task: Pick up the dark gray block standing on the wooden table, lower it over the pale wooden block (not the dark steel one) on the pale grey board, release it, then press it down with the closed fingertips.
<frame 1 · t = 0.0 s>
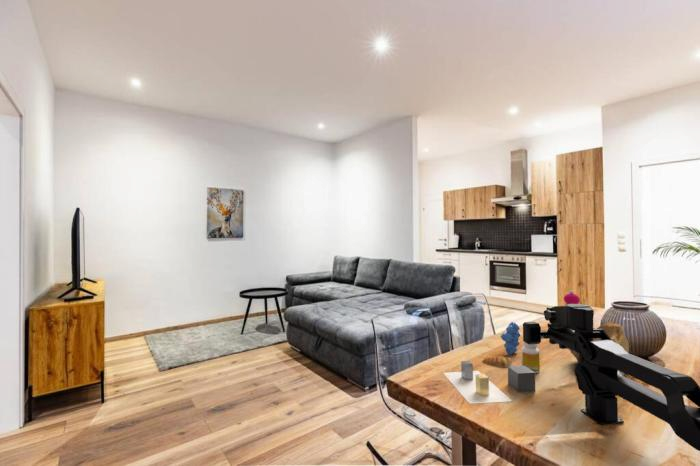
hand: (536, 324, 110), 17 cm above the table, tool horizontal, fingers open, 9 cm apart
board: (474, 389, 101), on the table
pastry: (499, 368, 117), on the table
supplement bottle: (530, 370, 114), on the table
pepper mill: (572, 334, 152), on the table
pale wooden block: (482, 393, 96), resting on board
steel post: (467, 378, 106), resting on board
dark gray block: (521, 391, 99), on the table
rough brown rock: (596, 368, 115), on the table
grapes: (509, 353, 130), on the table
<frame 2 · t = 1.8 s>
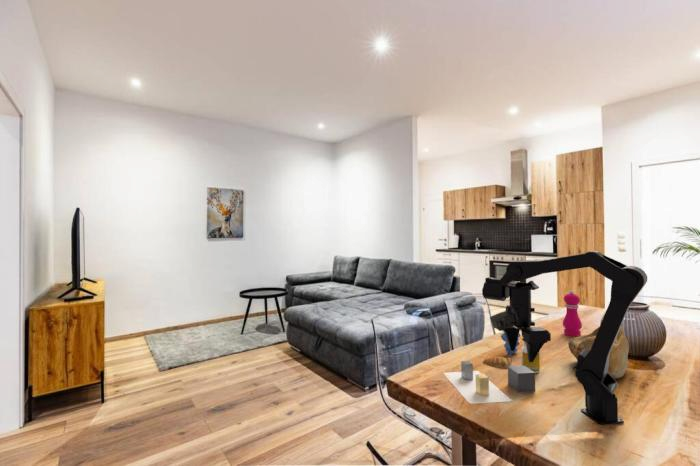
hand: (521, 356, 99), 11 cm above the table, tool pointing down, fingers open, 9 cm apart
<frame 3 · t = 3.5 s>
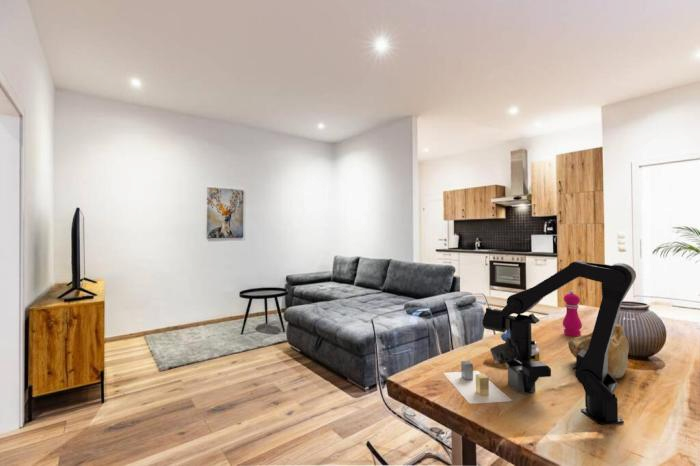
hand: (521, 388, 99), 1 cm above the table, tool pointing down, fingers closed on dark gray block, 5 cm apart
dark gray block: (521, 391, 99), on the table, touching gripper
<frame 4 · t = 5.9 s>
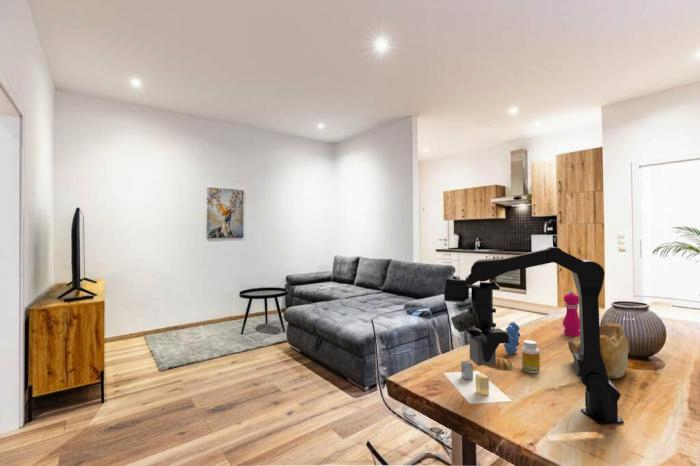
hand: (482, 358, 96), 11 cm above the table, tool pointing down, fingers closed on dark gray block, 5 cm apart
dark gray block: (482, 361, 96), point 10 cm above the table, touching gripper
when the fingers open (4 cm above the table, at t = 8.5 s): dark gray block drops 1 cm, resting on board.
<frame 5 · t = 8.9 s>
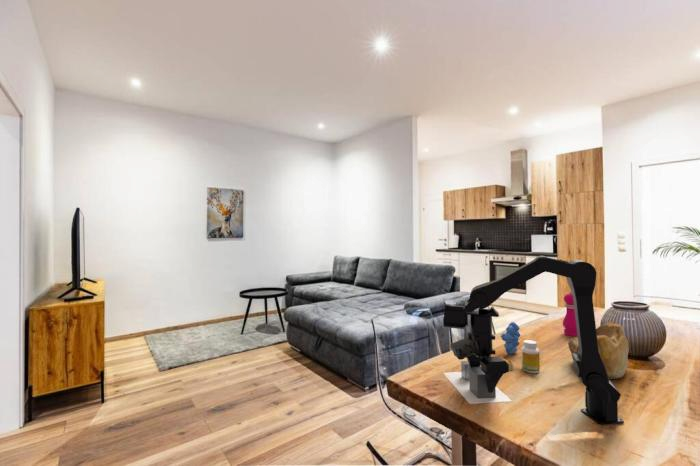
hand: (482, 384, 96), 4 cm above the table, tool pointing down, fingers open, 9 cm apart
dark gray block: (482, 393, 96), point 1 cm above the table, touching board
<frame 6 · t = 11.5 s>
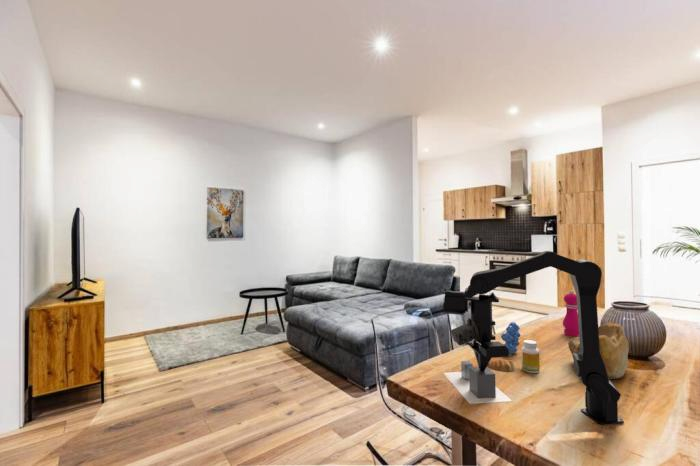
hand: (482, 370, 96), 8 cm above the table, tool pointing down, fingers closed, pressing on dark gray block
dark gray block: (482, 393, 96), point 1 cm above the table, touching board, gripper
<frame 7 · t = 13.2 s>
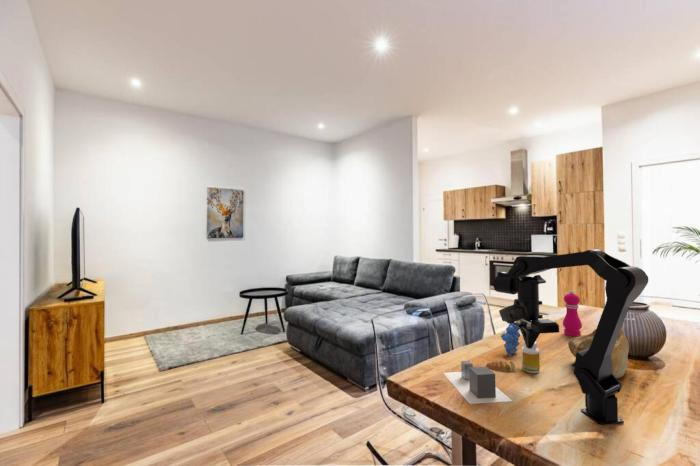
hand: (529, 348, 102), 12 cm above the table, tool pointing down, fingers closed
dark gray block: (482, 393, 96), point 1 cm above the table, touching board
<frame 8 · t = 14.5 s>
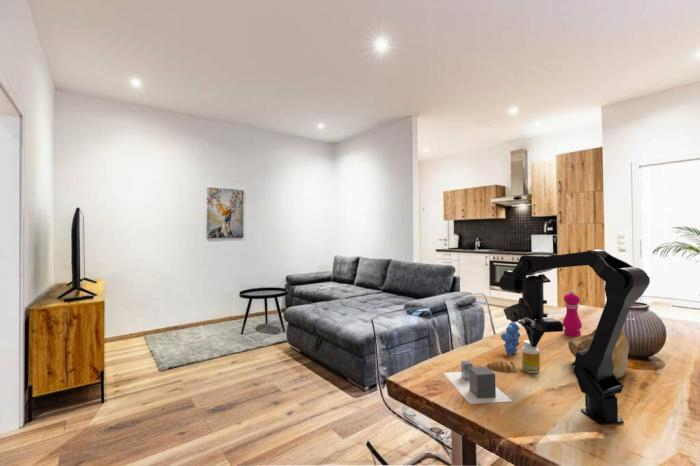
hand: (533, 346, 103), 12 cm above the table, tool pointing down, fingers closed
at the end: dark gray block 0.0 cm from the pale wooden block (horizontally); dark gray block point 1.2 cm above the table; dark gray block tilted 0° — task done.
